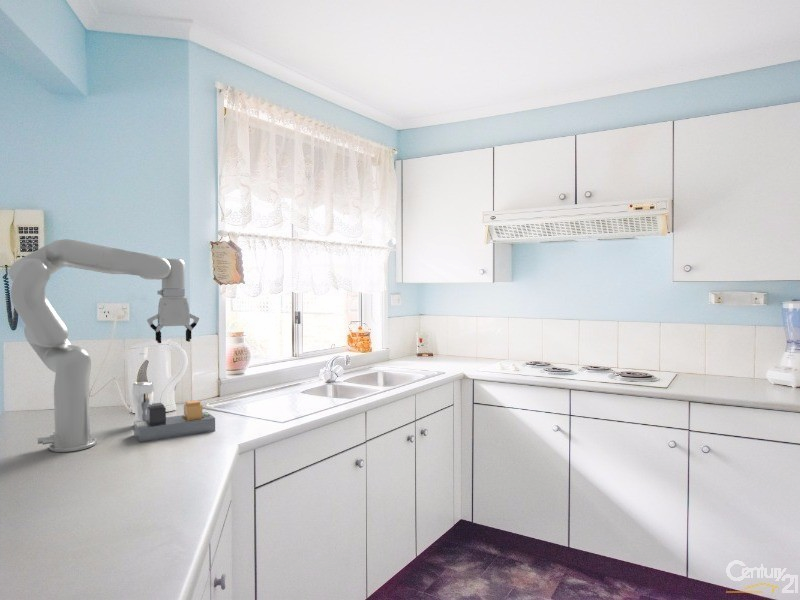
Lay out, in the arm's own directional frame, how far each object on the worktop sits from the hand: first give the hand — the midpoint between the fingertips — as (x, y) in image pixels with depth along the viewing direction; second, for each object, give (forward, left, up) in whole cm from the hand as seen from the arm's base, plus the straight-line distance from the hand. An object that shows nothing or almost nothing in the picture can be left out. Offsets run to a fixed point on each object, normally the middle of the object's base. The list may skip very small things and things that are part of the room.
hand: (173, 342), depth 198 cm
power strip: (-2, -10, -30) cm, 32 cm away
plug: (+4, -10, -30) cm, 32 cm away
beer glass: (-9, +7, -30) cm, 32 cm away
